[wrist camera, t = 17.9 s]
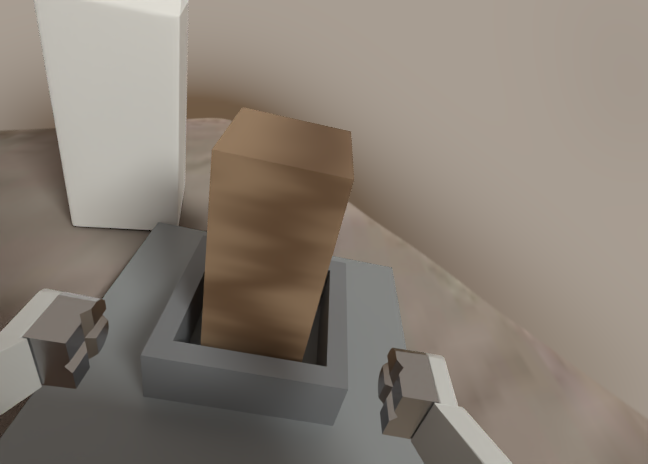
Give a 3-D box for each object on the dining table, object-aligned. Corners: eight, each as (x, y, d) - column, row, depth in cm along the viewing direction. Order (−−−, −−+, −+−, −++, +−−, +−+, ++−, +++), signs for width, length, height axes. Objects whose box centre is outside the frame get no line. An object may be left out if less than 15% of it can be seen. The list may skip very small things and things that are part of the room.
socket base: (-31, 502, 14) (-67, 448, 12) (158, 233, 29) (157, 186, 27) (432, 561, 16) (473, 522, 14) (388, 277, 31) (404, 236, 29)
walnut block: (199, 367, 20) (211, 149, 13) (223, 299, 24) (242, 107, 17) (295, 383, 20) (354, 179, 14) (303, 313, 24) (351, 131, 18)
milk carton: (97, 180, 33) (63, -104, 23) (185, 187, 36) (189, -70, 25) (71, 228, 28) (12, -118, 17) (178, 233, 30) (180, -74, 20)
